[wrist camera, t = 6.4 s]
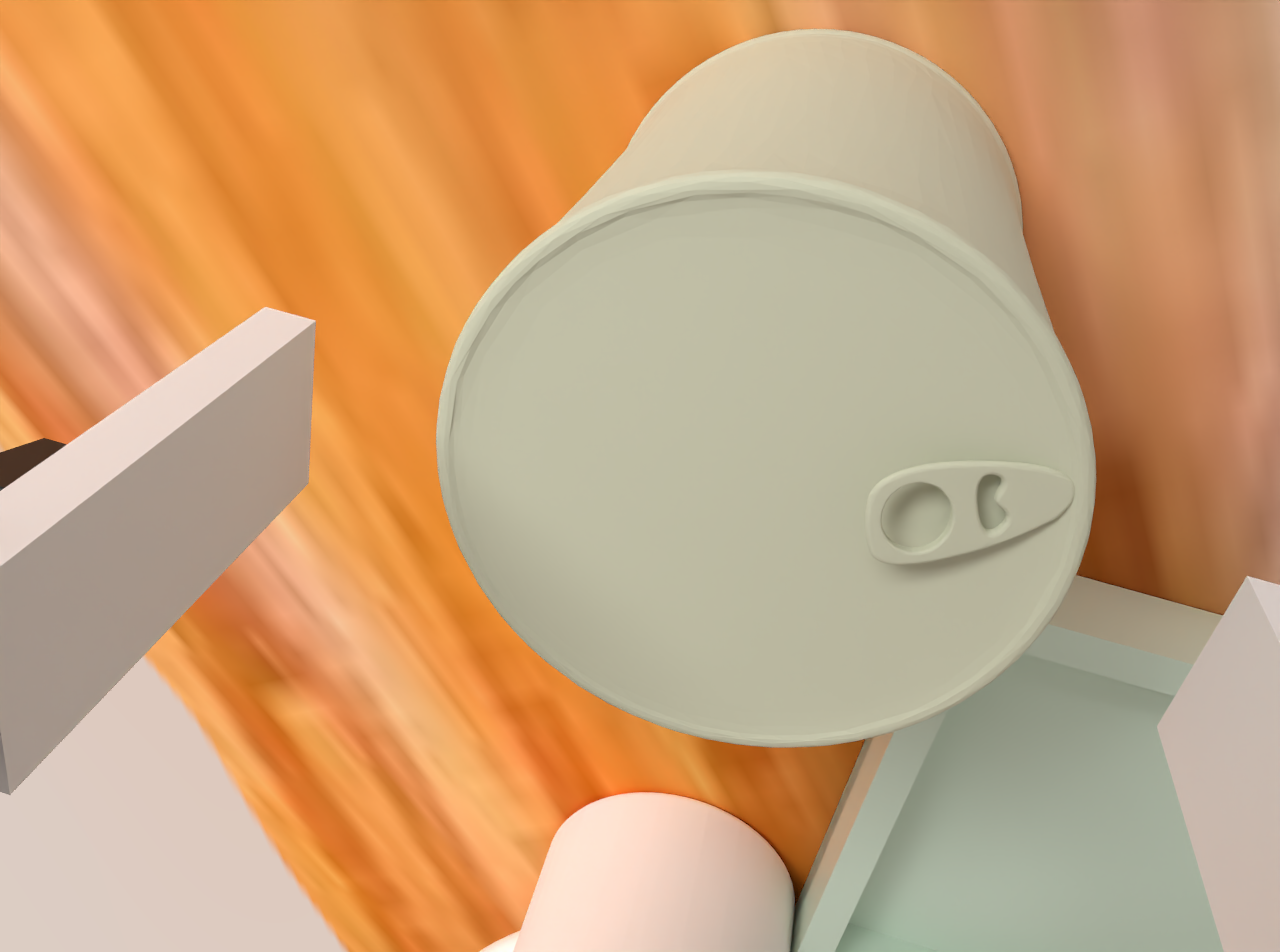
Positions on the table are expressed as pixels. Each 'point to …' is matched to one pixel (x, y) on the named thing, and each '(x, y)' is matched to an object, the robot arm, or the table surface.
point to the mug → (657, 883)
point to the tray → (1027, 805)
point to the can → (777, 409)
